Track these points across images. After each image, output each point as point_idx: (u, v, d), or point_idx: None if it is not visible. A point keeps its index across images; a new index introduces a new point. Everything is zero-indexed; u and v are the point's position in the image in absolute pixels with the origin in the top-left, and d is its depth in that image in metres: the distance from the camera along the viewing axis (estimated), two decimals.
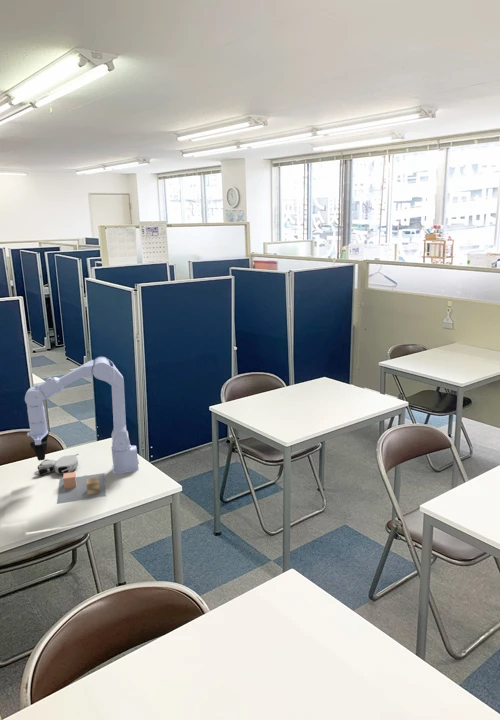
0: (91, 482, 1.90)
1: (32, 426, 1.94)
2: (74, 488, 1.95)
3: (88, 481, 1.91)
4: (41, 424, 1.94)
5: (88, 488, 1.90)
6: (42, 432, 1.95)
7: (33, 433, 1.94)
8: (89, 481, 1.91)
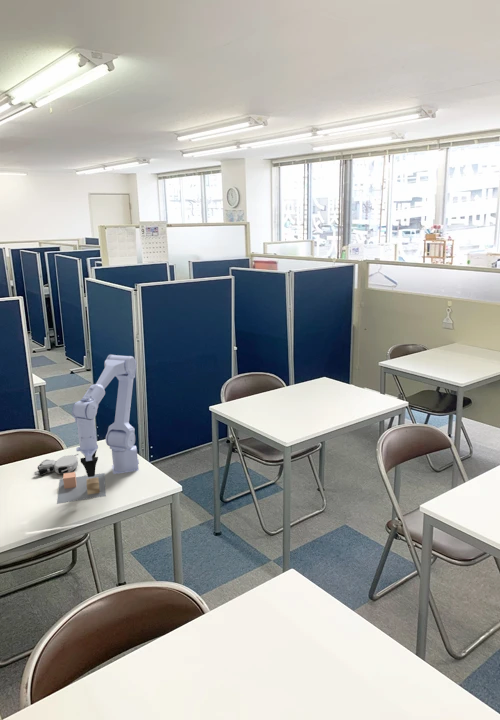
0: (91, 482, 1.90)
1: (82, 441, 1.85)
2: (74, 488, 1.95)
3: (88, 481, 1.91)
4: (91, 439, 1.85)
5: (88, 488, 1.90)
6: (92, 447, 1.86)
7: (83, 448, 1.85)
8: (89, 481, 1.91)
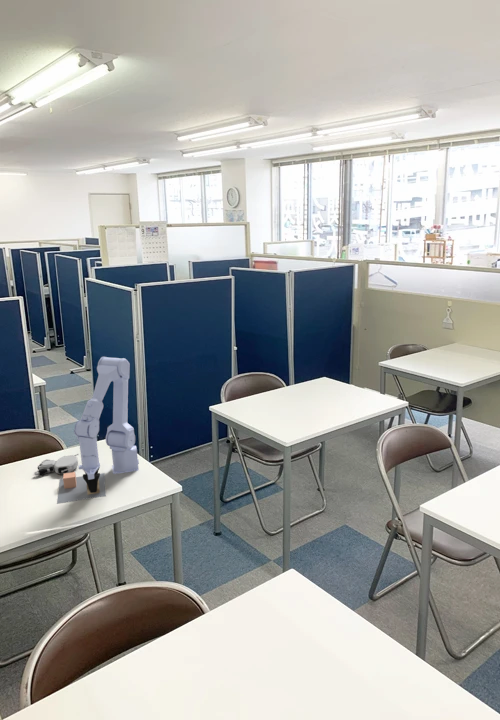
0: None
1: (84, 459, 1.86)
2: (74, 488, 1.95)
3: None
4: (93, 457, 1.87)
5: (88, 488, 1.90)
6: (94, 465, 1.88)
7: (85, 466, 1.87)
8: None
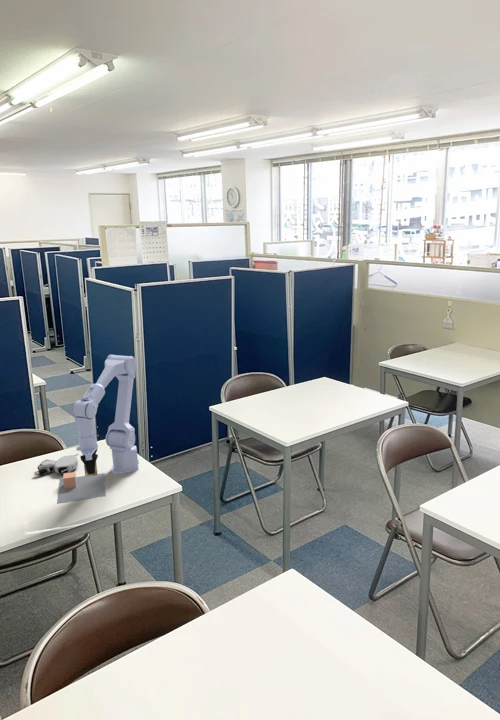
0: None
1: (82, 440, 1.85)
2: (74, 488, 1.95)
3: None
4: (91, 438, 1.85)
5: (86, 470, 1.88)
6: (92, 446, 1.86)
7: (83, 448, 1.85)
8: None
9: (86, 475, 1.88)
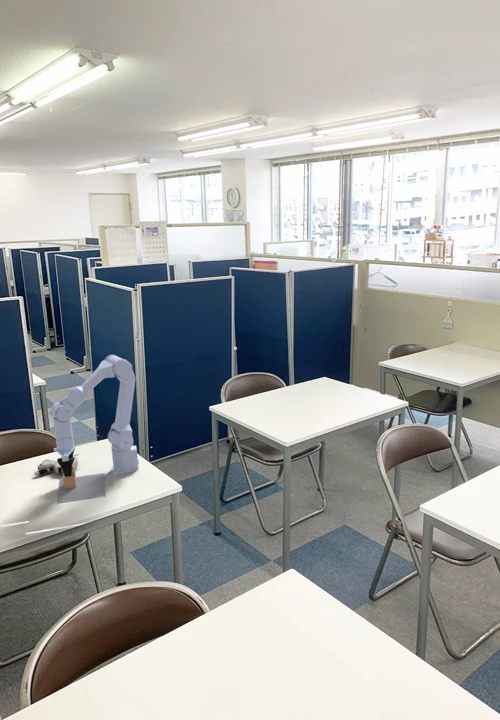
0: None
1: (59, 442, 1.90)
2: (74, 488, 1.95)
3: None
4: (68, 440, 1.90)
5: None
6: (69, 448, 1.91)
7: (60, 449, 1.90)
8: None
9: (64, 477, 1.94)
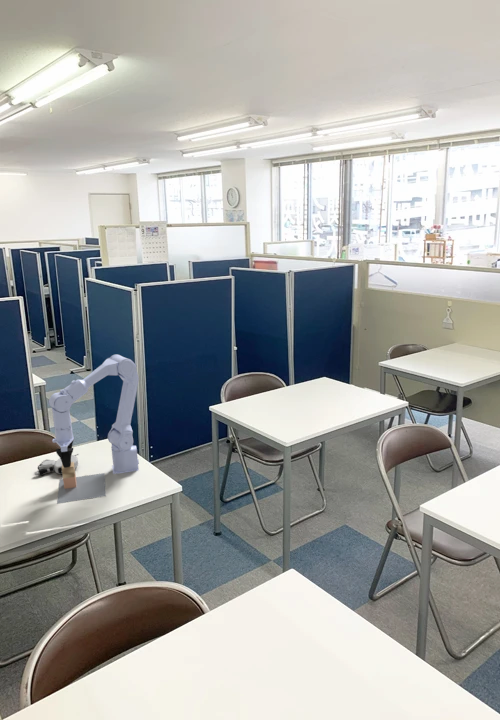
0: None
1: (58, 432, 1.89)
2: (74, 488, 1.95)
3: None
4: (67, 430, 1.89)
5: (63, 472, 1.93)
6: (68, 438, 1.90)
7: (59, 439, 1.89)
8: None
9: (64, 477, 1.94)
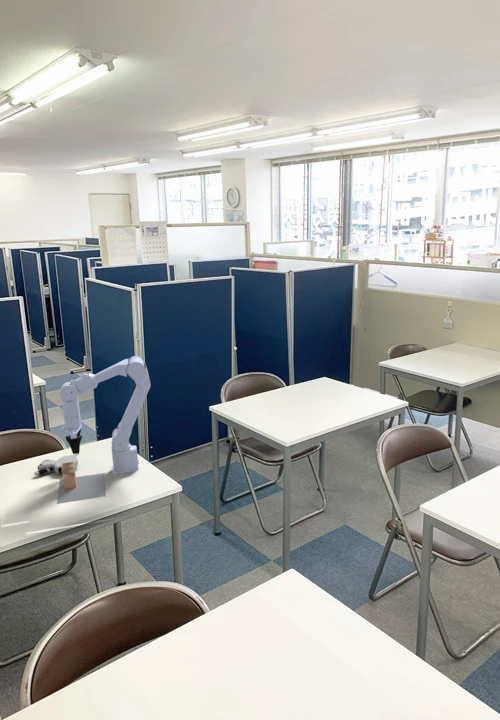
0: (66, 466, 1.94)
1: (67, 420, 1.97)
2: (74, 488, 1.95)
3: (63, 465, 1.94)
4: (76, 418, 1.98)
5: (63, 472, 1.93)
6: (77, 426, 1.99)
7: (68, 427, 1.98)
8: (64, 465, 1.94)
9: (64, 477, 1.94)
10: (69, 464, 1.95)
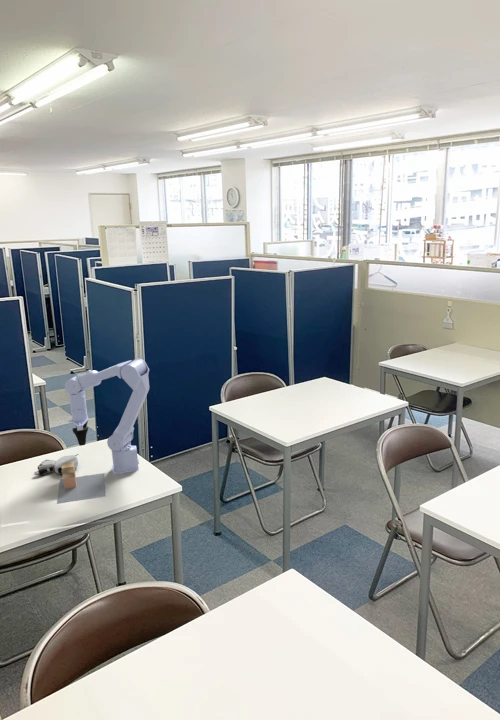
0: (66, 466, 1.94)
1: (74, 413, 2.05)
2: (74, 488, 1.95)
3: (63, 465, 1.94)
4: (82, 411, 2.05)
5: (63, 472, 1.93)
6: (83, 418, 2.06)
7: (75, 419, 2.05)
8: (64, 465, 1.94)
9: (64, 477, 1.94)
10: (69, 464, 1.95)
